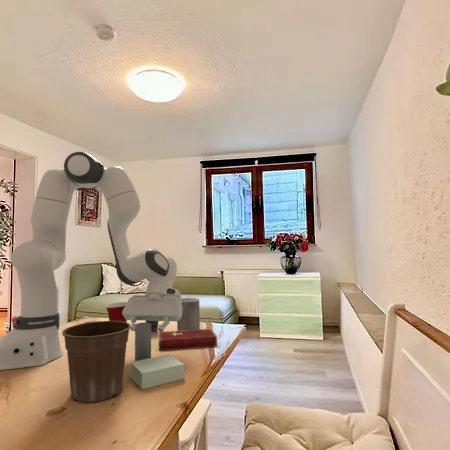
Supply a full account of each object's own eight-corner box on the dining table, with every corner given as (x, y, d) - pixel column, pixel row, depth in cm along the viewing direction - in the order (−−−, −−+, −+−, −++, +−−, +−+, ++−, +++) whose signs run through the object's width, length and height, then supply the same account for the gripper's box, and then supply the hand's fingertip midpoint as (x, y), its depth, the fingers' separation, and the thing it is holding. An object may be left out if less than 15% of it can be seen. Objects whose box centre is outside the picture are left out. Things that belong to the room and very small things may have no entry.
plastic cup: (107, 328, 151) (108, 301, 152) (132, 327, 152) (132, 301, 153) (101, 334, 140) (102, 305, 141) (128, 333, 142) (128, 305, 142)
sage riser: (142, 389, 86) (142, 373, 86) (129, 376, 94) (130, 362, 94) (184, 378, 92) (184, 363, 93) (169, 368, 101) (169, 354, 101)
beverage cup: (158, 333, 141) (159, 286, 142) (141, 333, 141) (141, 286, 142) (162, 329, 148) (162, 284, 150) (145, 329, 148) (146, 284, 150)
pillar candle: (180, 328, 150) (180, 294, 151) (202, 329, 149) (201, 295, 149) (174, 334, 140) (174, 298, 141) (197, 335, 139) (196, 298, 140)
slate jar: (137, 366, 102) (138, 326, 103) (132, 362, 106) (133, 323, 107) (153, 363, 105) (153, 324, 106) (147, 359, 109) (148, 321, 110)
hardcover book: (217, 347, 123) (216, 335, 123) (158, 351, 118) (158, 339, 119) (211, 338, 135) (211, 328, 135) (158, 342, 130) (158, 331, 130)
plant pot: (58, 413, 73) (60, 339, 74) (62, 386, 88) (63, 324, 89) (134, 400, 80) (135, 331, 81) (125, 376, 95) (126, 318, 96)
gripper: (127, 290, 119) (113, 324, 108) (183, 290, 115) (174, 326, 105) (132, 300, 123) (119, 334, 112) (186, 301, 119) (178, 336, 109)
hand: (146, 330), depth 109 cm, fingers open, 8 cm apart
